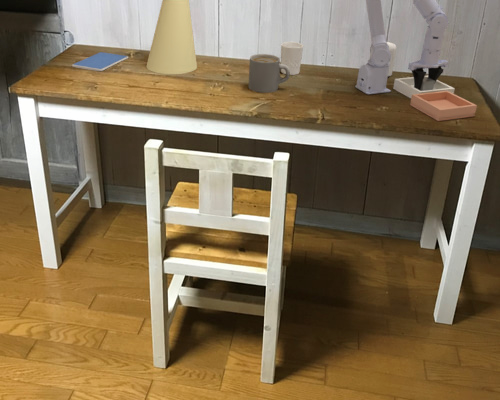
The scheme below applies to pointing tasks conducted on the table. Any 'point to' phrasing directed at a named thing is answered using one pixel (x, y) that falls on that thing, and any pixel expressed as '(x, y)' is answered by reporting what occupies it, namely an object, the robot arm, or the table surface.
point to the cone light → (173, 40)
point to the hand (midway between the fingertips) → (423, 89)
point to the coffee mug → (266, 73)
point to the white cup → (291, 56)
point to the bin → (443, 105)
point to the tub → (408, 89)
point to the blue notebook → (100, 61)
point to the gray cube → (427, 84)
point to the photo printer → (393, 52)
